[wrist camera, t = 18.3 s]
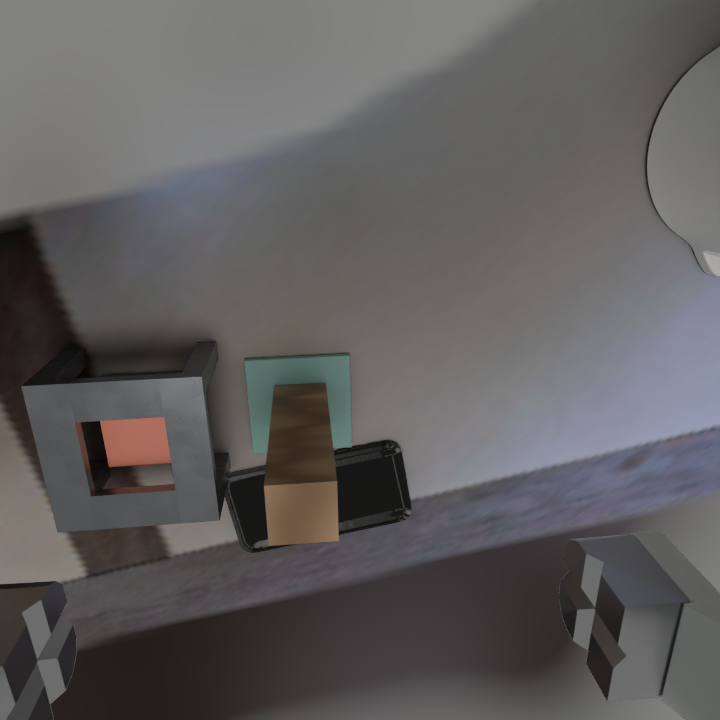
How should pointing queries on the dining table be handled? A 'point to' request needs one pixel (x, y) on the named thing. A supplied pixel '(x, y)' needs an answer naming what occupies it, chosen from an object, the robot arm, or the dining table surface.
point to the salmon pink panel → (136, 441)
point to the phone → (354, 489)
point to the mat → (299, 371)
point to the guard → (119, 402)
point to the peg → (300, 467)
